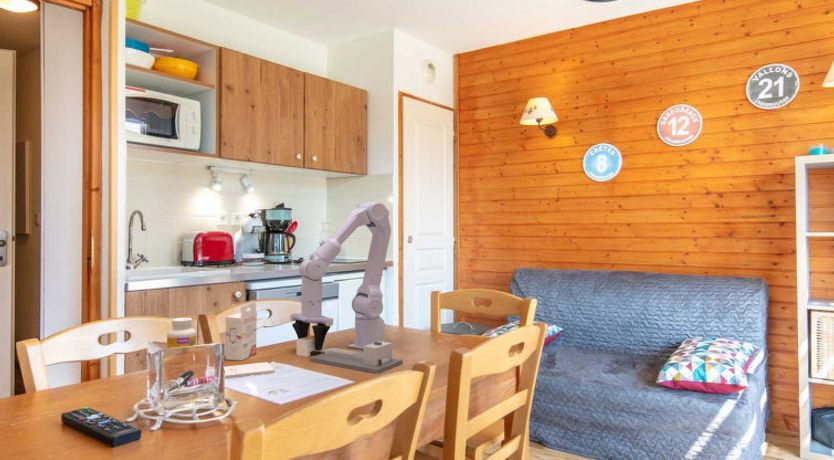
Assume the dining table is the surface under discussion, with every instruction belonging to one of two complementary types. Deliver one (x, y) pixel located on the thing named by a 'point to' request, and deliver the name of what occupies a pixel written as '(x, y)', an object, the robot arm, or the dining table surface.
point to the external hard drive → (248, 370)
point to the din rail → (351, 355)
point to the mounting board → (354, 363)
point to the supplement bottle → (181, 333)
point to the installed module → (376, 352)
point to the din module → (307, 346)
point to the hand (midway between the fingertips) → (310, 348)
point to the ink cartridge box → (241, 333)
